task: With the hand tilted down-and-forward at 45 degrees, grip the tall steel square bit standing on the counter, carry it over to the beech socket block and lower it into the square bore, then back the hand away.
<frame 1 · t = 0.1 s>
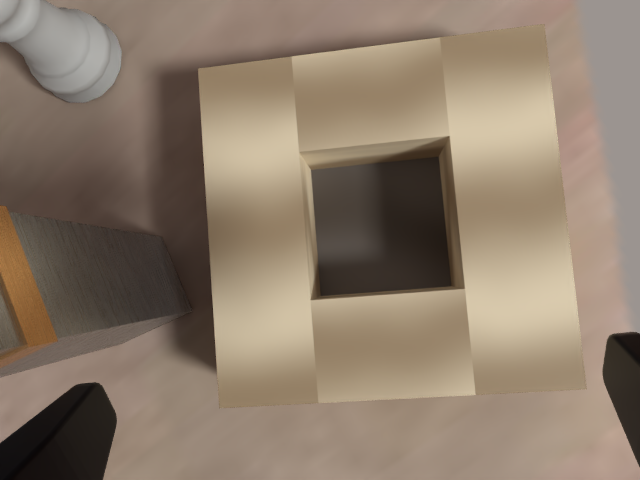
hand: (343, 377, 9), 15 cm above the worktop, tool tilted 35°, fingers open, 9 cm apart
square bit: (141, 290, 25), on the worktop
rook chess piece: (88, 65, 26), on the worktop
socket block: (379, 227, 24), on the worktop
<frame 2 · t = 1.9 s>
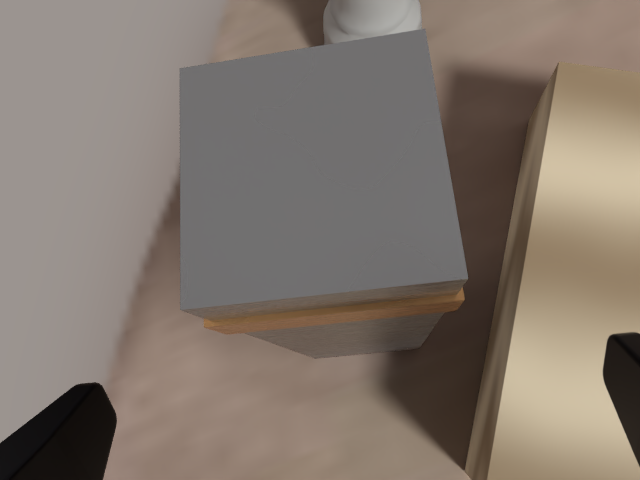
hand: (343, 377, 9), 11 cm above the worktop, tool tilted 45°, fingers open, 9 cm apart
square bit: (360, 302, 20), on the worktop
rook chess piece: (372, 42, 23), on the worktop
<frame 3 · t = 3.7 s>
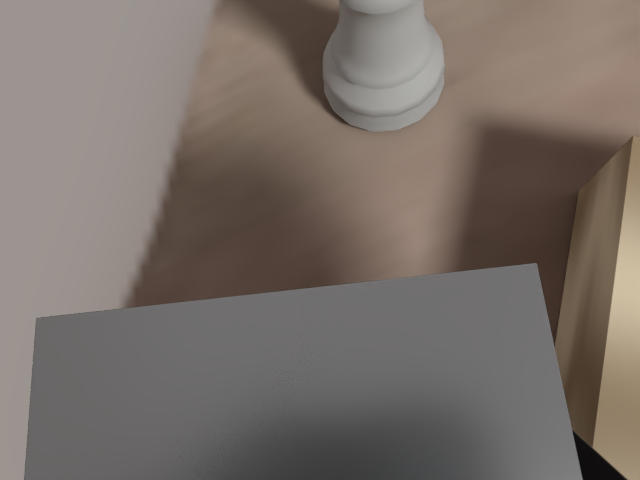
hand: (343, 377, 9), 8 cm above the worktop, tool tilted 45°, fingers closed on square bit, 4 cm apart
square bit: (370, 424, 16), on the worktop, touching gripper
rook chess piece: (383, 87, 19), on the worktop
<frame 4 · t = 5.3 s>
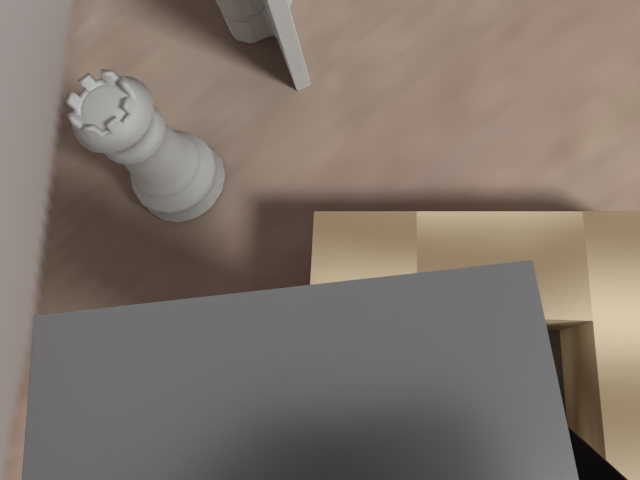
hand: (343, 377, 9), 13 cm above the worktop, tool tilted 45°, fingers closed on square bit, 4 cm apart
square bit: (369, 424, 16), point 6 cm above the worktop, touching gripper
rook chess piece: (187, 184, 26), on the worktop
socket block: (486, 401, 21), on the worktop
when the fingers open (9 cm above the worktop, at t = 7.0 s): square bit stays where it is, resting on socket block.
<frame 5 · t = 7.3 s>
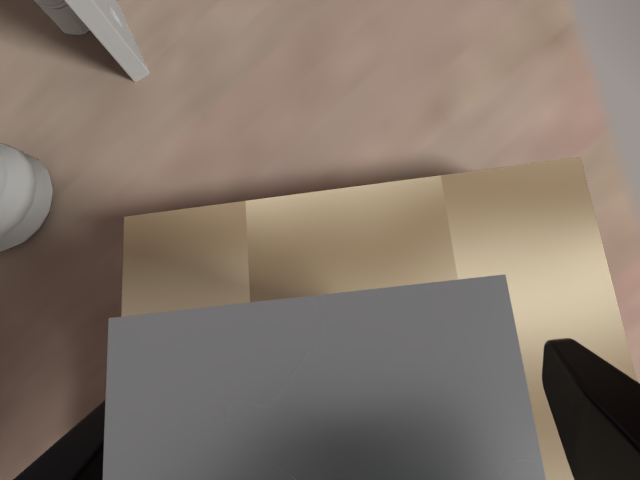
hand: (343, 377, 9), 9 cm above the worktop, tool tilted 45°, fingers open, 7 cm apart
square bit: (371, 421, 17), resting on socket block
rook chess piece: (14, 206, 22), on the worktop
socket block: (371, 421, 17), on the worktop
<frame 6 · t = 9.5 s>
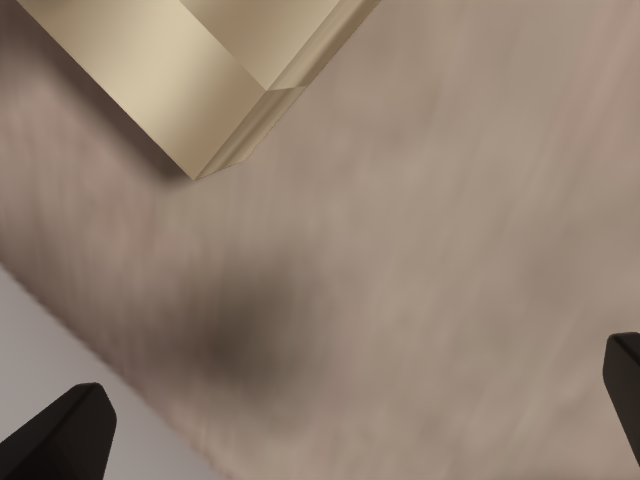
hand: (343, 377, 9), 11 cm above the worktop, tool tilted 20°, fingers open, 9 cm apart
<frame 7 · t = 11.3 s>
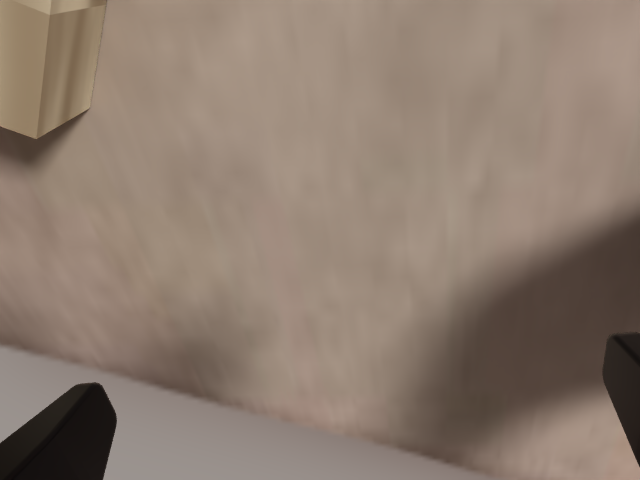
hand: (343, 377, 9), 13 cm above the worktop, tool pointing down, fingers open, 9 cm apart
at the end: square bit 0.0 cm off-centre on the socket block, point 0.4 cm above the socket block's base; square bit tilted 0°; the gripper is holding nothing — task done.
